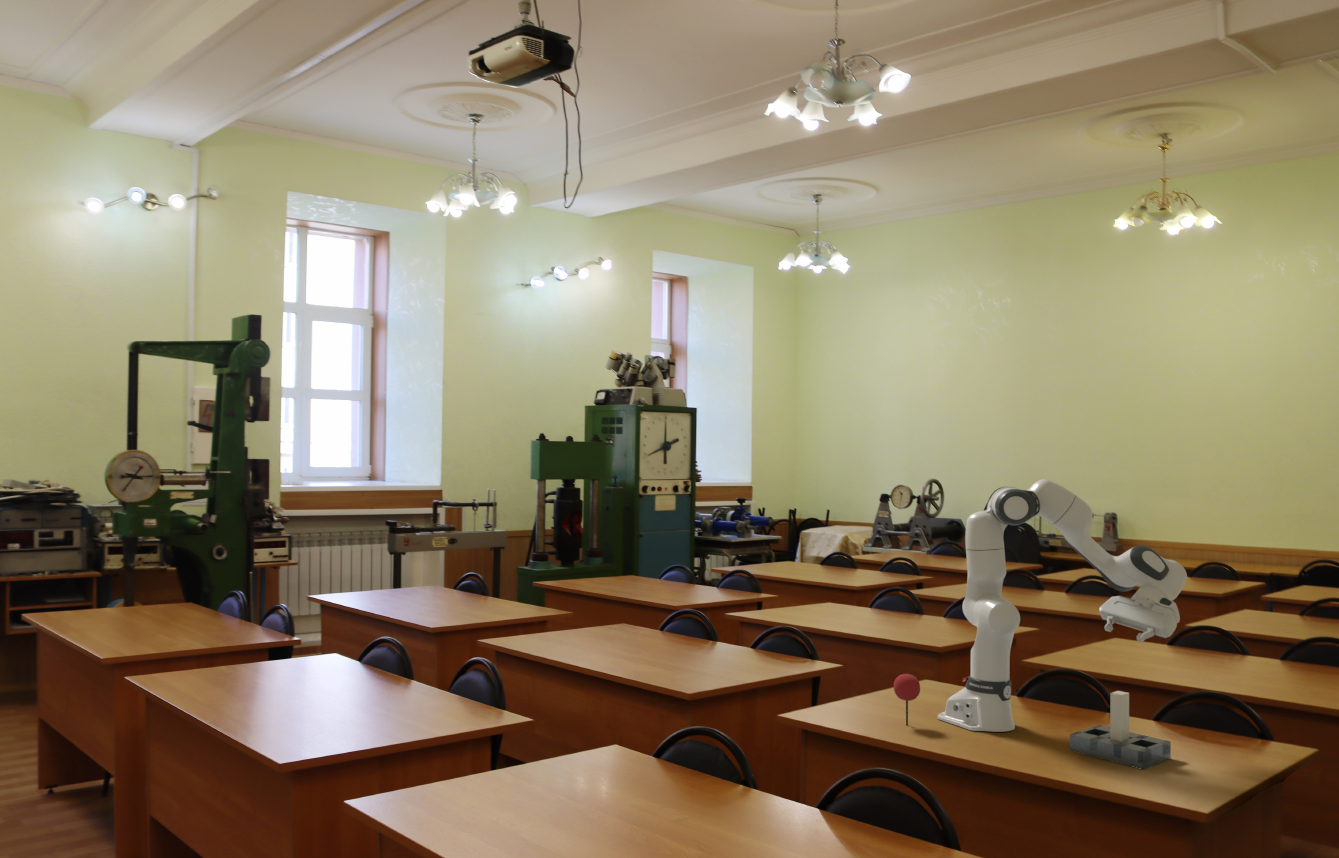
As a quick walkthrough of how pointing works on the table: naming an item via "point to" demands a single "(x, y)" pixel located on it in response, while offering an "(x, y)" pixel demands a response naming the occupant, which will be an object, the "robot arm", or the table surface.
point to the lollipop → (906, 689)
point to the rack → (1121, 747)
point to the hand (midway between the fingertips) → (1122, 634)
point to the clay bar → (1119, 716)
